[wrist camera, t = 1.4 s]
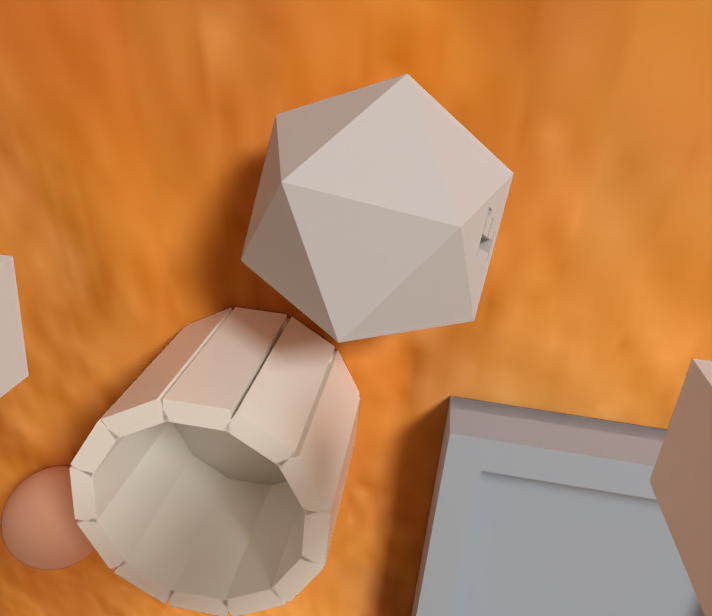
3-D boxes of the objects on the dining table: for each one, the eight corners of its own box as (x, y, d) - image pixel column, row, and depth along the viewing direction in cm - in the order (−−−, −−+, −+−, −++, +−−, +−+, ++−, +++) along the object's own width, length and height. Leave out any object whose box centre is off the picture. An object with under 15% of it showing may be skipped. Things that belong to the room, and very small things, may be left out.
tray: (406, 640, 36) (402, 690, 33) (450, 396, 29) (449, 433, 27) (702, 696, 34) (724, 753, 32) (818, 453, 28) (857, 498, 25)
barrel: (163, 467, 33) (82, 589, 26) (157, 295, 29) (59, 382, 22) (348, 499, 32) (318, 634, 25) (368, 326, 28) (338, 427, 21)
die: (380, 327, 29) (534, 391, 21) (188, 288, 25) (279, 347, 16) (428, 144, 29) (607, 129, 20) (239, 71, 24) (364, 11, 16)
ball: (45, 513, 36) (-15, 582, 31) (35, 439, 34) (-31, 502, 29) (129, 528, 35) (82, 601, 31) (125, 454, 33) (73, 521, 29)
